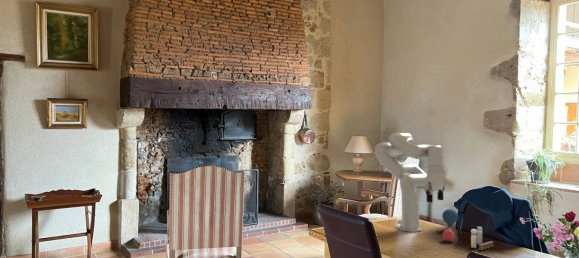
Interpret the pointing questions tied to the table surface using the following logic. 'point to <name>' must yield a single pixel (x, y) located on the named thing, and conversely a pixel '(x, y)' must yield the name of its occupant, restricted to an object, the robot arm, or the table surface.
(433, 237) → the table surface
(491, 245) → the backstop
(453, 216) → the blue ovoid piece
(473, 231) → the ivory pin
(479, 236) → the slate-blue pin
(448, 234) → the ball
